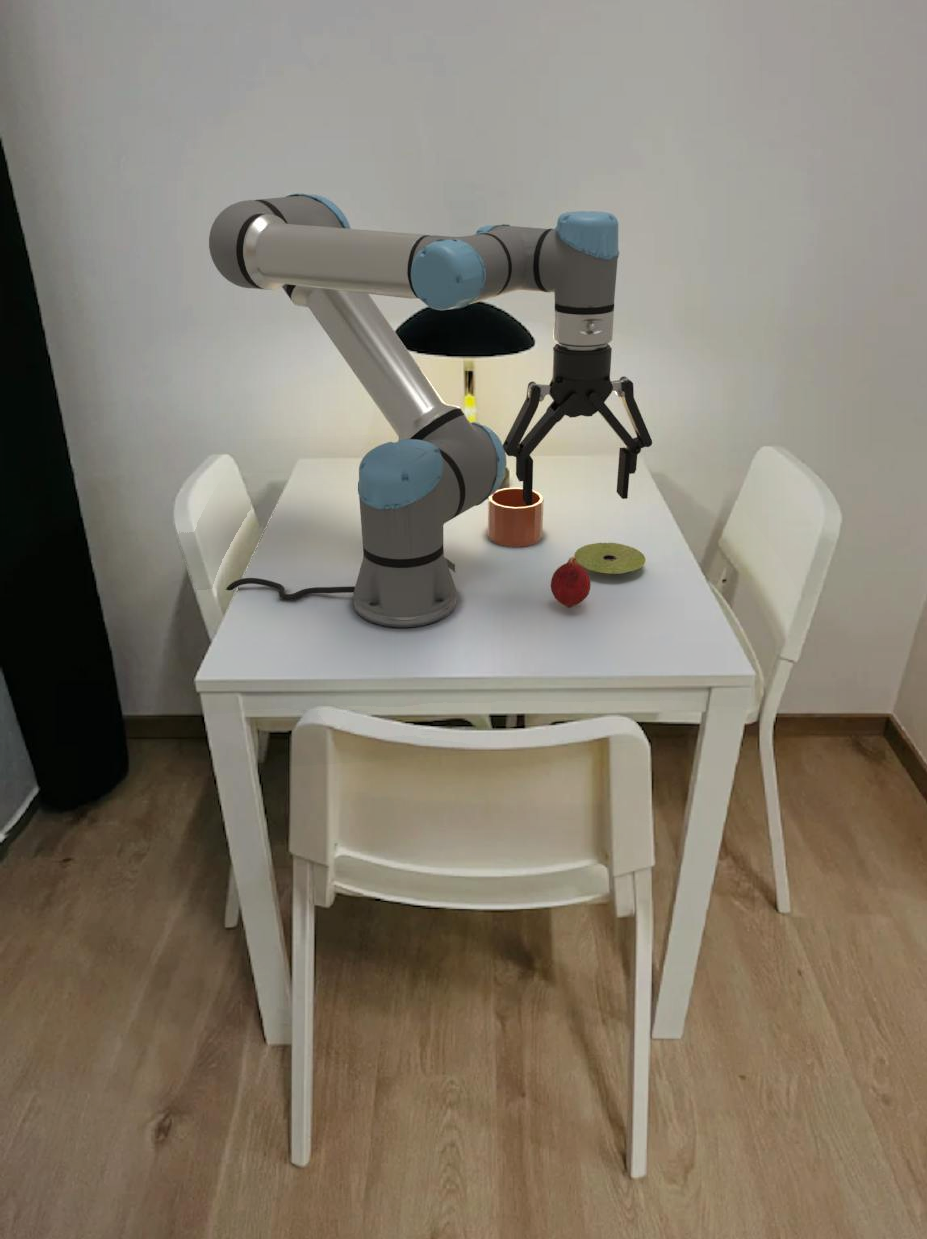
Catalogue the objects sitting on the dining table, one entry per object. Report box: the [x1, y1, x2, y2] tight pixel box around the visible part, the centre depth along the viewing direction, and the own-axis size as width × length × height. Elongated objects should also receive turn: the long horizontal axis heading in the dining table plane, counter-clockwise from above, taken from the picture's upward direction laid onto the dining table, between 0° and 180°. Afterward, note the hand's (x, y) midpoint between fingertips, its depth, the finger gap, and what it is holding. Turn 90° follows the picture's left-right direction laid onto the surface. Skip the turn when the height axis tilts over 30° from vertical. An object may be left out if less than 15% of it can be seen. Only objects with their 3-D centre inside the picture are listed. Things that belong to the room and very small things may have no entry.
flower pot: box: [487, 487, 545, 548], centre depth 155 cm, size 9×9×7 cm
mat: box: [573, 542, 646, 575], centre depth 146 cm, size 11×11×2 cm
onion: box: [550, 556, 591, 608], centre depth 133 cm, size 6×6×8 cm
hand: (574, 498), depth 128 cm, fingers open, 13 cm apart
